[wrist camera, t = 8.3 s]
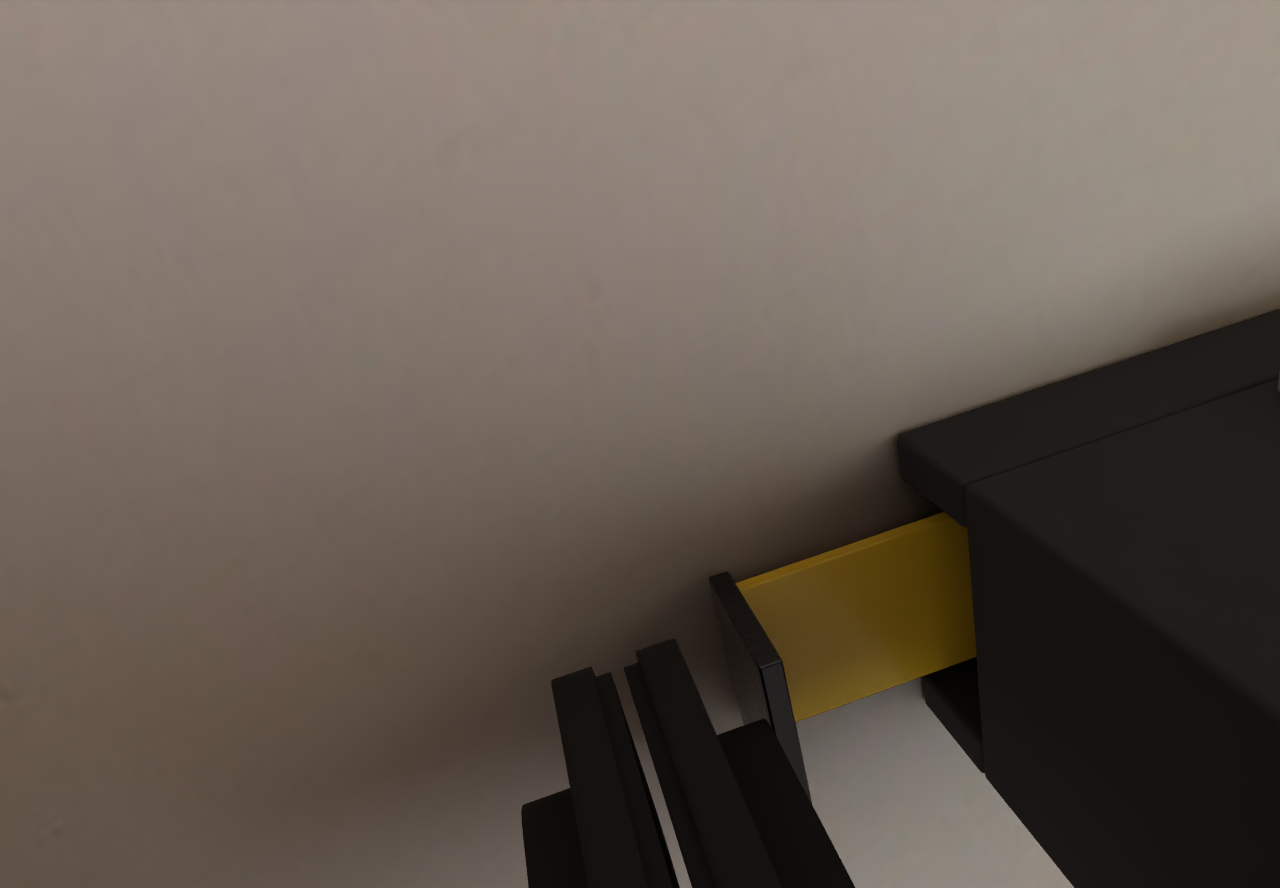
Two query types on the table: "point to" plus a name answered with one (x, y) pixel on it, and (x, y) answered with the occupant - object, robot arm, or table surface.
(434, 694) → the table surface
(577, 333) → the table surface
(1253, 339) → the tape case
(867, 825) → the table surface
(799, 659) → the tape blade
